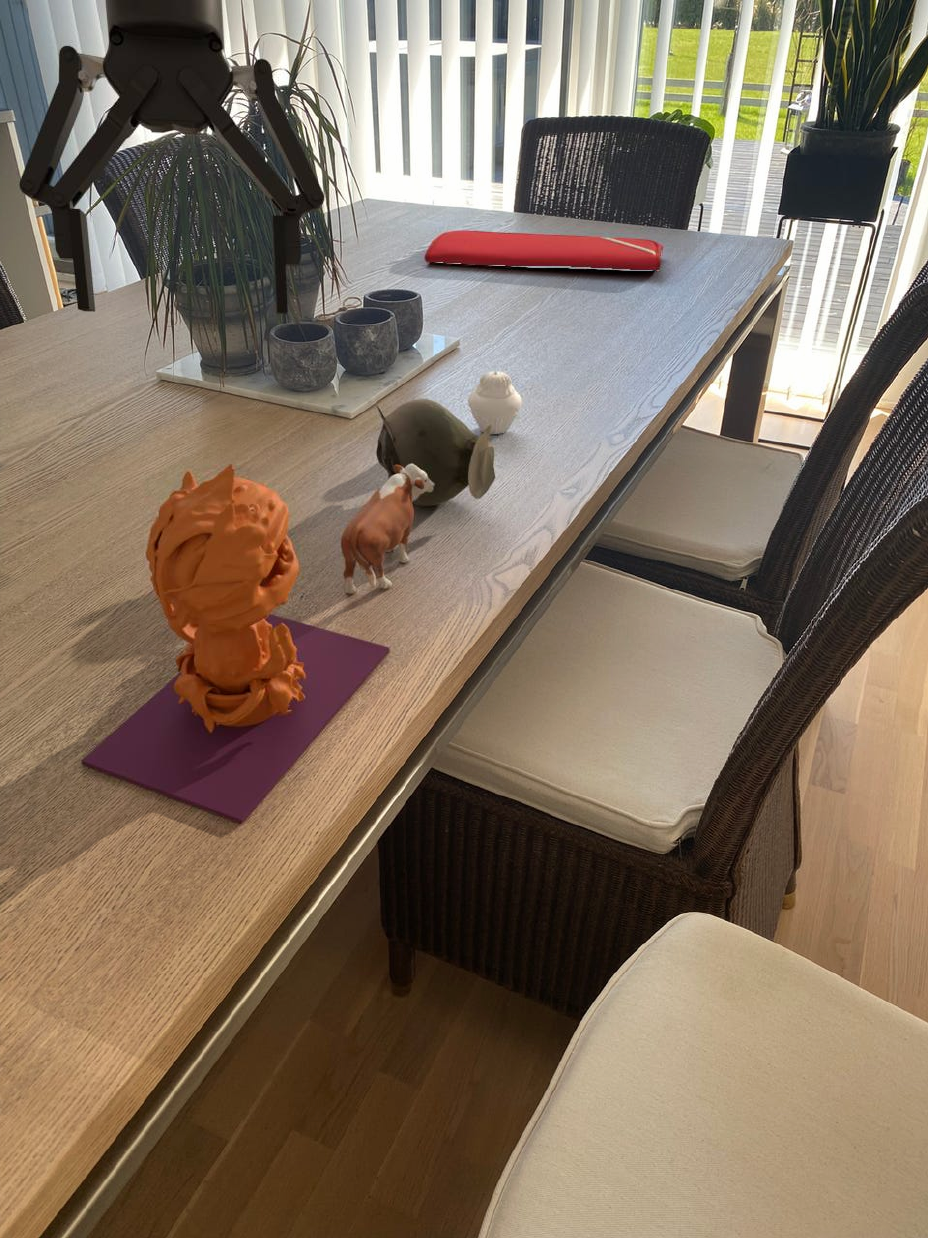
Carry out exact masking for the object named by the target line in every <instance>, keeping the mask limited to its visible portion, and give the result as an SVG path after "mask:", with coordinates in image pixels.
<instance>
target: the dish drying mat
mask: <svg viewBox="0 0 928 1238" xmlns="http://www.w3.org/2000/svg"><path fill="white" fill-rule="evenodd" d="M663 249H664V245H663V244H660V243H659V242H657V241H656V240H652V239H645V238H633V237H632V238H629V237H607V236H606V237H605V236H592V235H591V236H589V235H574V234H573V235H571V234H570V235H569V234H544V233H541V234H540V233H526V232H525V233H524V232H499V231H482V230H452V231H445V232H443V233H440V235H438V236H436V237H435V238H434V239H433V240H432V241H431V243H430V245H429V246H428V248H427V250H426V252H425V254H424V261H425V262H426V263H427V262H429V263H430V262H443V263H461V264H472V265H473V264H474V265H505V266H571V267H591V268H612V269H630V270H660V271H661V265H662V264H661V263H662V262H661V260H662V258H661V257H660V256H661V251H662V252H663Z"/></svg>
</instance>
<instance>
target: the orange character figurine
mask: <svg viewBox="0 0 928 1238" xmlns="http://www.w3.org/2000/svg"><path fill="white" fill-rule="evenodd" d="M233 467H234V465H233V464H232V463H230V464H228V465H227V466H226V467H225V468H224V469H222V470H221V471H220V472H218V473H217V475H216V476H214V477H213V478H211V479H209V480H205V481H202V482H201V483H199V485H198V483H197V482H196V480H195V477H194V475H193V473H192V472H191V471H190V470H188V471H186V472H185V473H184V475H183V478H182V482H181V483H182V485H181V487H180V488H179V489H178V490H177V489H176V490H173V492H171V493H170V495H169V497H168V499H166V501H164V502H163V503H162V504H161V505H160V507H159V509H158V515H157V517H156V518H155V520H154V522H153V523H152V525H151V527H150V531H149V534H148V535H149V536H148V541H147V546H146V550H145V559H146V560H147V561H148V563H149V564H148V569H149V570H150V573H151V576H150V582H151V584H152V587H153V590H154V592H155V595H156V596H157V598H158V600H159V603H160V606H161V608H162V612H163V615H164V617H165V618H166V619H167V623H168V626H169V628H170V630H172V632H174V634H175V635H176V636H177V637H178V638H180V639H182V640H184V641H185V642H187V645H186V647H185V651H183V652H181V653H180V654H179V656H178V657H177V658H176V659H175V664H176V665H177V669H176V670H177V673H180V672H181V675H180V676H179V677H178V679H177V680H176V682H175V683H174V690H175V692H176V693H177V694H178V695H180V696H181V698H180V700H179V702H178V703H179V704H180V703H182V702H184V701H185V700H187V701H188V702H190V704H191V706H192V712H194V711H195V716H196V715H197V714H199V715H200V716H201V717H202V718H203V719H204V724H205V726H206V728H207V729H208V731H209V732H210V733H212V731H213V728H214V723H215V722H216V723H217V724H216V725H219V724H222V725H226V726H232V727H243V726H250V725H255V724H258V723H261V722H263V721H265V720H267V719H269V718H271V717H272V716H274V715H275V714H276V713H277V712H278V711H279V715H282V714H288V713H290V712H291V710H288V711H287V708H288V707H289V702H290V700H292V699H293V698H295V699H296V700H297V702H299V701H302V700H304V699H305V696H304V694H303V693H302V692H301V690H302V687H301V686H300V685H299V684H298V682H297V680H298V679H299V678H301V679H302V680H305V679H306V675H305V673H304V671H303V666H304V663H302V662H299V663H298V662H297V655H296V651H297V648H296V647H295V646H294V645H293V643H292V638H291V635H290V631H289V628H288V627H287V626H286V625H285V624H283V623H281V624H279V625H278V626H276V627H275V628H273V630H272V625H271V624H269V623H268V622H267V621H265V619H266V618H267V617H268V616H269V614H271V612H273V610H275V609H276V608H277V607H279V606H280V605H282V606H283V605H285V604H286V603H287V601H288V597H289V596H290V592H291V590H292V588H293V586H294V585H295V582H296V581H297V577H298V575H299V573H300V562H299V560H298V557H297V554H296V553H295V550H294V548H293V543H292V540H291V539H290V537H289V536H288V534H287V533H288V529H289V522H290V511H289V507H288V505H287V503H286V502H285V501H283V500H282V499H281V498H280V496H279V494H278V493H277V492H276V491H274V490H271V489H270V488H269V487H268V486H267V483H265V482H263V483H256V482H255V481H252V480H249V479H246V478H242V477H238V476H237V477H236V476H235V475H236V473H235V469H234V468H233ZM292 697H293V698H292Z"/></svg>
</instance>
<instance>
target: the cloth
mask: <svg viewBox="0 0 928 1238" xmlns="http://www.w3.org/2000/svg"><path fill="white" fill-rule="evenodd" d="M265 621H267V622H268V623H269V624H271V625H272V630H273V628H275V627H276V626H278V625H279V624H281V623H283V624H285V625H286V626H287V627H288V628H289V631H290V635H291V638H292V643H293V645H294V646H295V647H296V648H297V651H296V655H297V662H298V663H299V662H302V663H304V666H303V671H304V673H305V675H306V679H305V680H302V679H301V678H299V679H298V680H297V682H298V684H299V685H300V686H301V687H302V690H301V692H302V693H303V694H304V696H305V699H304V700H302V701H299V702H297V700H296V699H295V698H293V697H292V698H293V699H292V700H290V702H289V707H288V708H287V711H288V710H291V712H290V713H288V714H282V715H279V711H278V712H277V713H276V714H275V715H274V716H272V717H271V718H269V719H267V720H265V721H263V722H261V723H258V724H255V725H250V726H243V727H232V726H226V725H222V724H219V725H216V724H217V723H216V722H215V723H214V728H213V731H212V733H210V732H209V731H208V729H207V728H206V726H205V724H204V719H203V718H202V717H201V716H200V715H199V714H197V715H196V716H195V711H194V712H192V706H191V704H190V702H188V701H187V700H185V701H184V702H182V703H180V704H179V703H178V702H179V700H180V698H181V696H180V695H178V694H177V693H176V692H175V690H174V683H175V682H176V680H177V679H178V677H179V676H180V675H181V671H180V672H178V674H176V676H174V677H173V678H172V679H171V680H170V681H168V682H167V684H165V685H164V686H163V687H161V689H160V690H158V692H156V693H155V694H154V695H153V696H152V697H151V698H149V699H148V700H147V701H146V702H145V703H144V704H143V705H142V706H141V707H139V708H138V709H137V710H135V712H134V713H132V714H131V716H129V717H128V718H127V719H126V720H124V722H122V724H120V725H119V726H118V727H117V728H115V730H114V731H112V733H110V734H109V735H108V736H107V737H106V738H104V740H102V741H101V742H100V743H99V744H98V745H97V746H95V748H93V749H92V750H91V751H90V752H89V753H88V754H87V755H85V756H84V757H83V758H82V759H81V760H80V762H81V765H82V766H85V767H88V768H90V769H93V770H96V771H98V772H101V773H104V774H106V775H109V776H112V777H114V778H117V779H120V780H122V781H125V782H128V783H130V784H134V785H136V786H139V787H141V788H144V789H146V790H149V791H152V792H155V793H157V794H159V795H163V796H165V797H168V798H170V799H173V800H176V801H178V802H181V803H184V804H187V805H190V806H192V807H194V808H198V809H200V810H204V811H205V812H208V813H211V814H213V815H215V816H216V815H217V816H219V817H222V818H225V819H227V820H230V821H232V822H235V823H238V824H240V825H243V823H244V822H245V821H246V820H247V819H248V818H249V816H251V814H253V812H254V811H255V810H256V809H257V807H258V806H259V805H260V804H261V803H262V801H263V800H264V799H265V798H266V797H267V796H268V794H269V793H270V792H271V791H272V790H273V789H274V787H275V786H276V785H277V784H278V783H279V781H280V780H281V779H282V778H283V777H284V776H285V774H286V773H287V772H288V771H289V770H290V769H291V767H292V766H293V765H294V764H295V763H296V762H297V761H298V760H299V758H300V757H301V756H302V755H303V753H305V751H306V750H307V749H308V748H309V746H311V744H312V743H313V742H314V740H315V739H316V738H317V737H318V736H319V735H320V733H321V732H322V731H323V730H324V729H325V728H326V726H327V725H328V724H329V723H330V722H331V721H332V719H333V718H334V717H335V716H336V715H337V713H338V712H339V711H340V710H341V709H342V708H343V707H344V706H345V704H346V703H347V702H348V701H349V699H350V698H351V697H352V696H353V695H354V694H355V693H356V692H357V690H358V689H359V688H360V686H361V685H363V683H364V682H365V681H366V679H368V677H370V675H371V674H372V673H373V672H374V670H376V668H377V667H378V666H379V665H380V663H382V662H383V660H384V659H385V657H386V656H387V655H388V654H389V653H390V651H391V650H390V647H389V646H385V645H381V644H379V643H378V644H377V643H374V642H371V641H367V640H364V639H361V638H357V637H354V636H351V635H346V634H342V633H340V632H336V631H331V630H328V629H324V628H321V627H317V626H314V625H311V624H307V623H304V622H300V621H296V620H293V619H290V618H285V617H283V616H278V615H276V614H272V613H269V616H268V617H267V618H266V619H265Z"/></svg>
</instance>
